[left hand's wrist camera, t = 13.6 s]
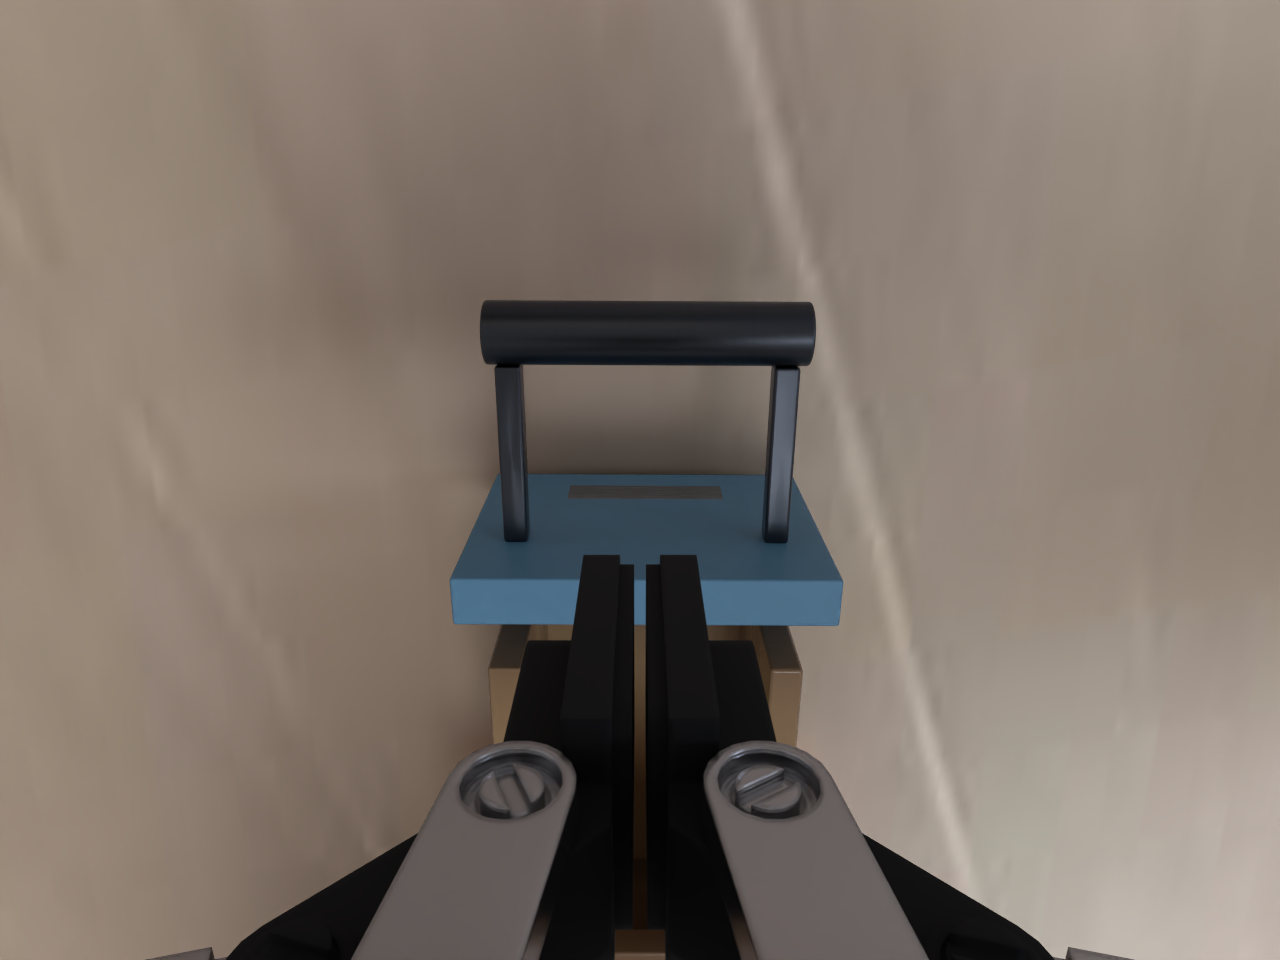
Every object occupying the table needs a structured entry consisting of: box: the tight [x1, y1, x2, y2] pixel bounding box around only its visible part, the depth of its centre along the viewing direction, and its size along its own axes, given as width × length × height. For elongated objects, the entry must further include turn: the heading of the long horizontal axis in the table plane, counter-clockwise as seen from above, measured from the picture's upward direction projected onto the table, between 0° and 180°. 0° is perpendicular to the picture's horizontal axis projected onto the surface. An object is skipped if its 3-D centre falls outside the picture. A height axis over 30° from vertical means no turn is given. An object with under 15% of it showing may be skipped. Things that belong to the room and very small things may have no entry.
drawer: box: [450, 300, 843, 929], centre depth 24 cm, size 21×9×7 cm, turn 0°
